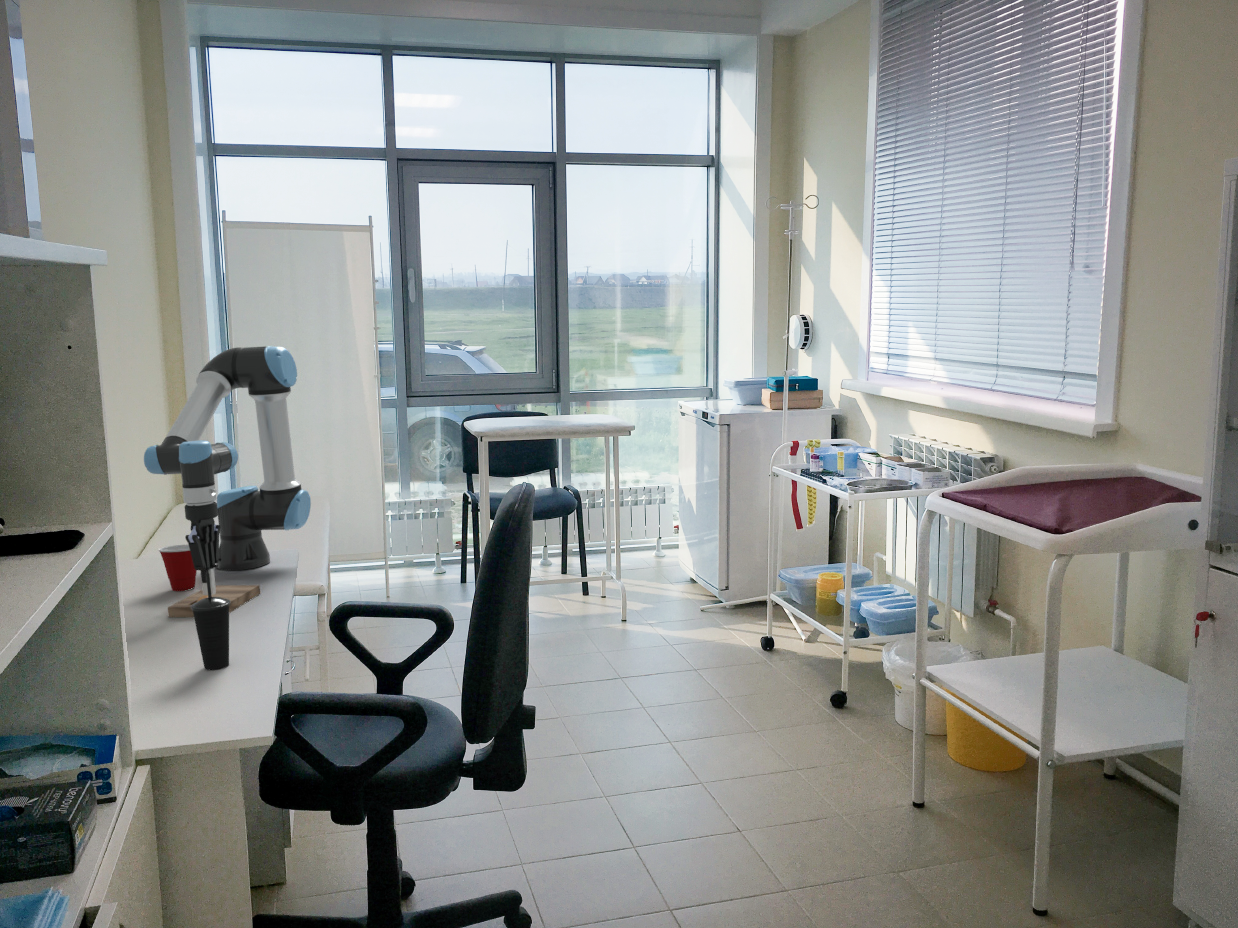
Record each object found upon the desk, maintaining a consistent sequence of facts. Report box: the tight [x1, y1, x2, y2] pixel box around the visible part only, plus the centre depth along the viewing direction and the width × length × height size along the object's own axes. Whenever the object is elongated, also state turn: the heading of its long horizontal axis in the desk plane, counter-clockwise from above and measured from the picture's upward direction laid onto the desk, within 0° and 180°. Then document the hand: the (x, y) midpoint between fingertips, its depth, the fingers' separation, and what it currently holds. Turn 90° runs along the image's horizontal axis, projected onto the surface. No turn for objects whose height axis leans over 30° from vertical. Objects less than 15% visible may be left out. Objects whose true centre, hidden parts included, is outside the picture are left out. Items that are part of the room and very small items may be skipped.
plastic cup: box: [157, 543, 198, 592], centre depth 269 cm, size 11×11×12 cm
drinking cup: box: [191, 573, 230, 671], centre depth 205 cm, size 8×8×20 cm
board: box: [167, 584, 261, 618], centre depth 252 cm, size 20×14×2 cm
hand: (209, 593), depth 249 cm, fingers closed
